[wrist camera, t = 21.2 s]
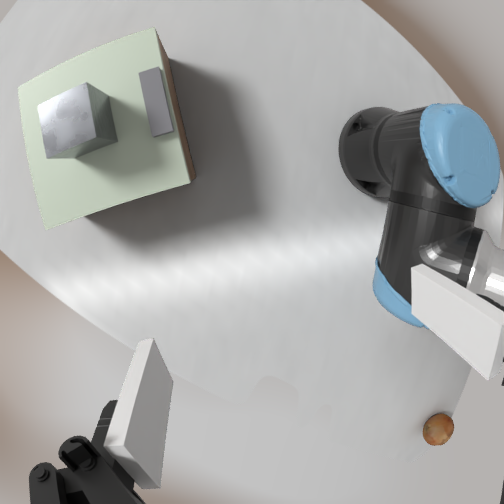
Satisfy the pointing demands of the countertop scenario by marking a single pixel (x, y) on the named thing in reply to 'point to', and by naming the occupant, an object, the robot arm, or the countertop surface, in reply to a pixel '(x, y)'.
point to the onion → (438, 429)
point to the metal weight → (76, 122)
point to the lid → (126, 124)
